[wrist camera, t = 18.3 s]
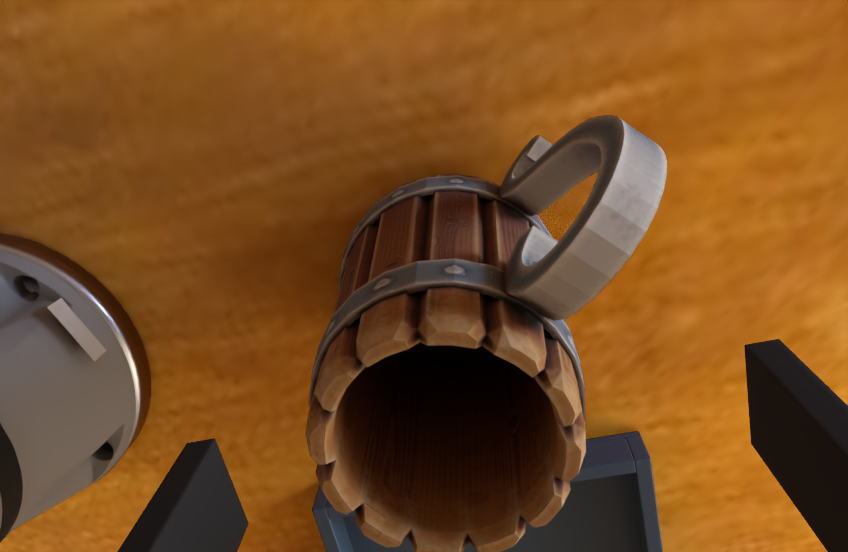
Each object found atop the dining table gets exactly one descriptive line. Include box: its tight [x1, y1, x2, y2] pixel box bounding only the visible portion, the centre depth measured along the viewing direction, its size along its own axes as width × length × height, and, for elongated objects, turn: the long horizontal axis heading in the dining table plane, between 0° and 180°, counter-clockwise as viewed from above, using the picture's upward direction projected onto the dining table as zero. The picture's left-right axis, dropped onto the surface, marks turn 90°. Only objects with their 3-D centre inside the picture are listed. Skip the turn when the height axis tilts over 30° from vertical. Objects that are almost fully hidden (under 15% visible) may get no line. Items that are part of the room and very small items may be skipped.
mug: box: [306, 115, 667, 552], centre depth 25 cm, size 16×11×15 cm
